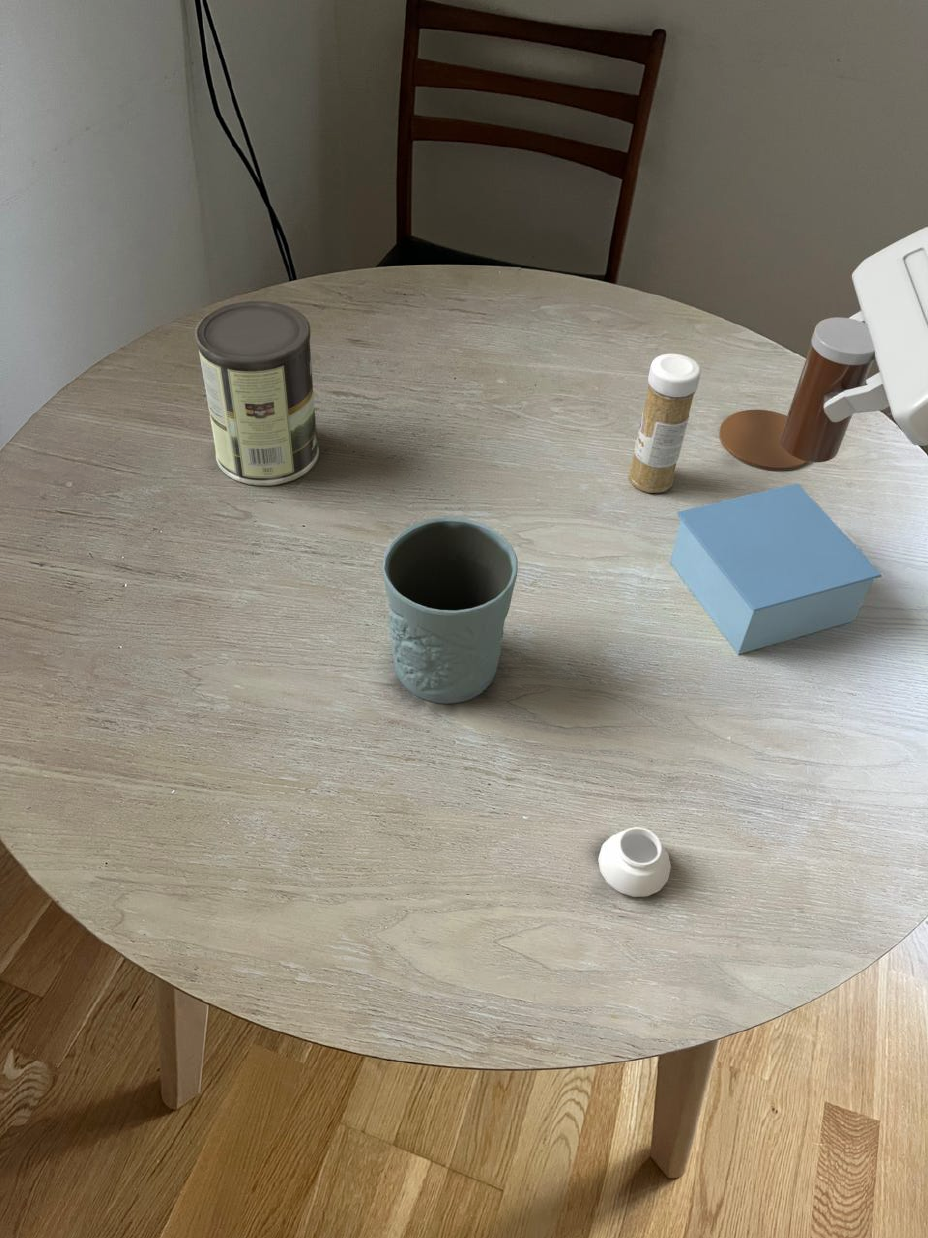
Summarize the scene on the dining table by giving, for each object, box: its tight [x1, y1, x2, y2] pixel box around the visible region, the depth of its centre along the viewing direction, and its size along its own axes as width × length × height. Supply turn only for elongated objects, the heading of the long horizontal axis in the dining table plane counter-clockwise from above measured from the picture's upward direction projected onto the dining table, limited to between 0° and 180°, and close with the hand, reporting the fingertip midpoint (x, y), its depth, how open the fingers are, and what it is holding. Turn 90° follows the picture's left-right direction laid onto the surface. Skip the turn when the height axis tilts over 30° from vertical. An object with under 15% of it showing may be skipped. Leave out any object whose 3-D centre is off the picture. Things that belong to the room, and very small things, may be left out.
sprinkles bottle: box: [628, 353, 702, 494], centre depth 99 cm, size 5×5×13 cm
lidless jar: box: [598, 826, 672, 898], centre depth 73 cm, size 5×3×5 cm
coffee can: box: [194, 300, 320, 487], centre depth 99 cm, size 10×10×14 cm
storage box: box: [669, 482, 883, 655], centre depth 92 cm, size 13×13×6 cm
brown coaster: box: [718, 409, 809, 472], centre depth 109 cm, size 10×10×1 cm
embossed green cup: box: [382, 516, 519, 705], centre depth 82 cm, size 10×10×12 cm
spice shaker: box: [780, 316, 876, 463], centre depth 79 cm, size 5×5×10 cm
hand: (821, 387), depth 79 cm, fingers closed on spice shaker, 4 cm apart
